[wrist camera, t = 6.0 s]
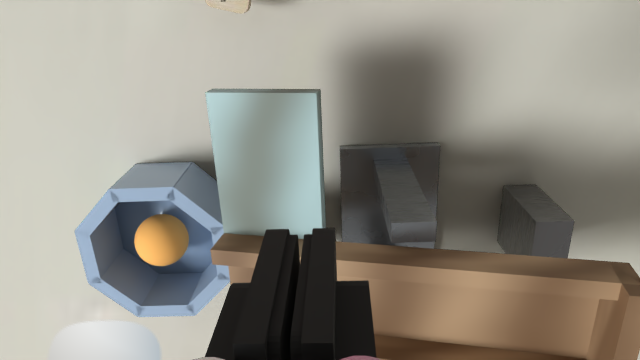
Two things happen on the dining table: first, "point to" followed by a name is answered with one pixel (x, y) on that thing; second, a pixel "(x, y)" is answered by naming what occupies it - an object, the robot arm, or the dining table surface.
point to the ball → (161, 240)
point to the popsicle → (230, 5)
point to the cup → (119, 233)
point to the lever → (409, 254)
